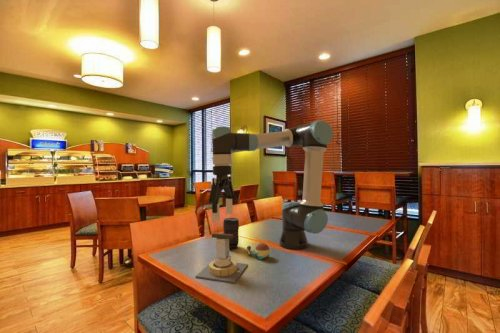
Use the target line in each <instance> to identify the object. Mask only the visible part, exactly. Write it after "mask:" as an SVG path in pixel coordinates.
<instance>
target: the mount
mask: <svg viewBox="0 0 500 333" xmlns="http://www.w3.org/2000/svg"><path fill="white" fill-rule="evenodd" d="M247 267H248V263H241V262H237V261H236V260H234V259H232V258H231V266H230V267H227V268H216V267H215V259H213V260H212V261H211V262H209V264H207V265H206V266H205V267H204V268H203V269H202V270H201V271H200V272H198V273H197V274H196V275H195V279H201V280H202V279H204V280H210V281H216V282H223V283H231V284H235V283H236V282H237V280H238V279H239V278H240V277H241V275H242V274H243V272H244V271H245V270H246V268H247Z"/></svg>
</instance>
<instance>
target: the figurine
mask: <svg viewBox="0 0 500 333" xmlns="http://www.w3.org/2000/svg"><path fill="white" fill-rule="evenodd" d="M246 249H247V251H248V252H247V254H248V257H252V255H255V256H256V257H257V259H258V260H259V261H260V260H264V259H265V258H268V257H270V247H269V245H268V244H266V243H264V242H262V243H261V242H260V243H258V244H257V245H256V246H255V248H254V250H253V251H254V252H253V251H251V250H252V247H251V245H247V247H246Z"/></svg>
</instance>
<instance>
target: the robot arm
mask: <svg viewBox="0 0 500 333" xmlns="http://www.w3.org/2000/svg"><path fill="white" fill-rule="evenodd" d="M211 132H212V133H211V142H212V144H211V145H212V147H211V148H212V157H211V160H212V165H213V166H212V175H213V176H216V177H212V179H211V181H212V182H211V187H210V193H209V197H208V198H209V199H208V203H209V204H208V205H211V219H212V220H211V221H212V222H220V219H221V217H220V204H219V201H220V198H221V194H222V191H223V192H224V194H225V213H226V215H233V199H235V192H234V187H233V182H232V176H231V175H232V166H231V164H232V154H234V153H240V152H255V151H256V150H262V149H263V150H264V149H270V148H275V147H276V148H277V147H284V146H285V147H287V148H291V147H302V149H303V150H304V152H305V154H304V156H305V157H304V167H303V168H304V170H303V186H302V187H303V188H302V197H301V198H302V199H301V200H300V201H292V202H291V201H290V202H284V203H283V204H282V206H281V207H282V208H281V211H282V212H281V214H282V215H281V217H282V218H281V220H282V222H281V223H282V230H281V234H280V237H279V246H280V247H282V248H286V249H288V250H303V249H306V248H307V247H309V244H308V243H309V241H308V238H307V236H306V232H307V233H309V234H310V233H311V234H319V233H321V232H323V231H324V229H325V228H326V227H327V225H328V221H329V220H328V219H329V218H328V214H327V213H326V212H325V210H324V204H323V203H322V201H321V198H322V197H321V196H322V182H323V181H322V180H323V165H324V153H325V152H326V151H327V150H328V145H329V144H330V143H331V142H332V140H333V138H334V131H333V128H332V126H331V125H330V124H329V122H327V121H325V120H314V121H312V122H308V123H305V124H301V125H298V126H294V127H291V128H285V129H284V130H283V131H274V132H265V133H264V132H263V133H256V134H255V133H249V132H248V133H246V132H232V130H231V128H230V127H229V126H215V127H213V128H212V131H211Z"/></svg>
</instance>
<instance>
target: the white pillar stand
mask: <svg viewBox="0 0 500 333" xmlns="http://www.w3.org/2000/svg"><path fill="white" fill-rule="evenodd" d="M211 238H215V252H216V254H215V257H214V260H215V267H216V268H227V267H230V266H231V259H232V257H231V255H230V250H229V239H233V235H232V234H223V233H217V232H214V233H212V234H211Z"/></svg>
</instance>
